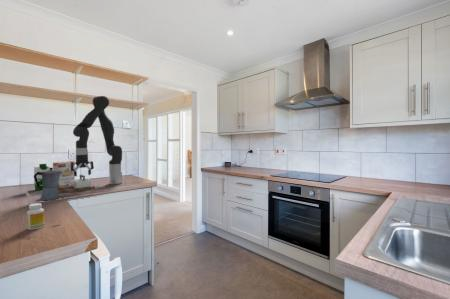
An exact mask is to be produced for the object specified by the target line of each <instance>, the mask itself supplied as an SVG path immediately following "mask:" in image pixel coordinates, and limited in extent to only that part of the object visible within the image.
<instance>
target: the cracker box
mask: <svg viewBox="0 0 450 299" xmlns="http://www.w3.org/2000/svg"><path fill="white" fill-rule="evenodd" d="M71 163H76V161H74V160H71V161H69V160H68V161H58V162H56V161H55V162H52V168H53V169H52V170H54V171H61V172H62V173H61V175H60V177H59V188H60V187H69V186H74V180H76V179H75V178H76V176H74V171H71ZM75 168H76V164H75V165H74V166H73V169H75Z"/></svg>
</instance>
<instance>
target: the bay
mask: <svg viewBox="0 0 450 299" xmlns="http://www.w3.org/2000/svg"><path fill="white" fill-rule="evenodd" d="M57 187H58V195H59V194H60V195H61V194H65V193H67V194H68V193H74V192H80V191H81V192H83V191H89V190H95V189H96V186H95V185H92V184H91V186H90V187H83V188H75V189H74V186H69V187H60V188H59V182H58V186H57Z"/></svg>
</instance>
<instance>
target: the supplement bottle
mask: <svg viewBox="0 0 450 299" xmlns="http://www.w3.org/2000/svg"><path fill="white" fill-rule="evenodd" d="M28 209H29V210H27V212H26V226H27V227H26V228H27V230H31V231H32V230H38V229H41V228H44V227H45V209H44V208H42V203H40V202H39V203H31V204H29V205H28Z"/></svg>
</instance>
